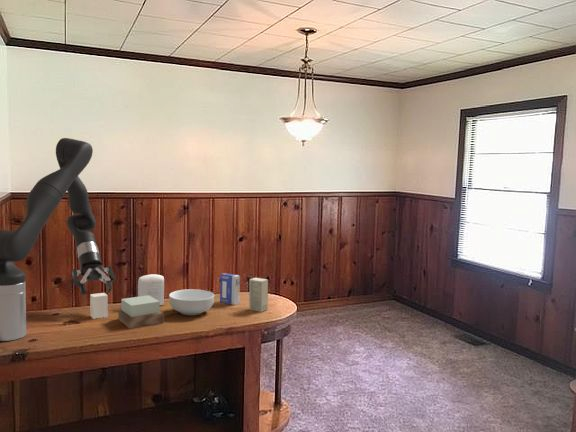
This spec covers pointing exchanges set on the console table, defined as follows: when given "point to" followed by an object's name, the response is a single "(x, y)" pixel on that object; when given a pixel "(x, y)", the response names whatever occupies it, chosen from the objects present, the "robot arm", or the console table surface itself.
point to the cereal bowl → (191, 301)
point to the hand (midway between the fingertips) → (97, 292)
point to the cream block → (98, 305)
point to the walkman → (229, 288)
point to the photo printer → (152, 287)
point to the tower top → (140, 306)
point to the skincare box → (258, 294)
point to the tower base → (140, 319)
